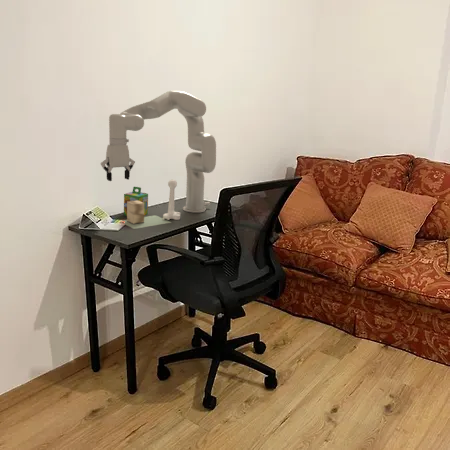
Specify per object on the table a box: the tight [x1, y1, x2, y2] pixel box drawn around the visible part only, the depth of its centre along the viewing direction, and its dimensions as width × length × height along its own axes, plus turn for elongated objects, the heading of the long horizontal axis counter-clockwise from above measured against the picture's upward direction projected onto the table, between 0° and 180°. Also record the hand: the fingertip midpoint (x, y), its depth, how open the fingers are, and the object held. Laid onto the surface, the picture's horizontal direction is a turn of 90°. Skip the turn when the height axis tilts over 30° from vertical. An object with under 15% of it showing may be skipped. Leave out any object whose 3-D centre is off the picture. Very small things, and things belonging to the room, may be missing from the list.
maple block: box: [126, 200, 145, 225], centre depth 231 cm, size 6×6×10 cm
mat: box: [122, 214, 172, 230], centre depth 234 cm, size 21×15×1 cm
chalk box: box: [123, 186, 149, 217], centre depth 243 cm, size 9×9×15 cm
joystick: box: [162, 179, 181, 221], centre depth 240 cm, size 11×8×20 cm
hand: (118, 179), depth 220 cm, fingers open, 8 cm apart
